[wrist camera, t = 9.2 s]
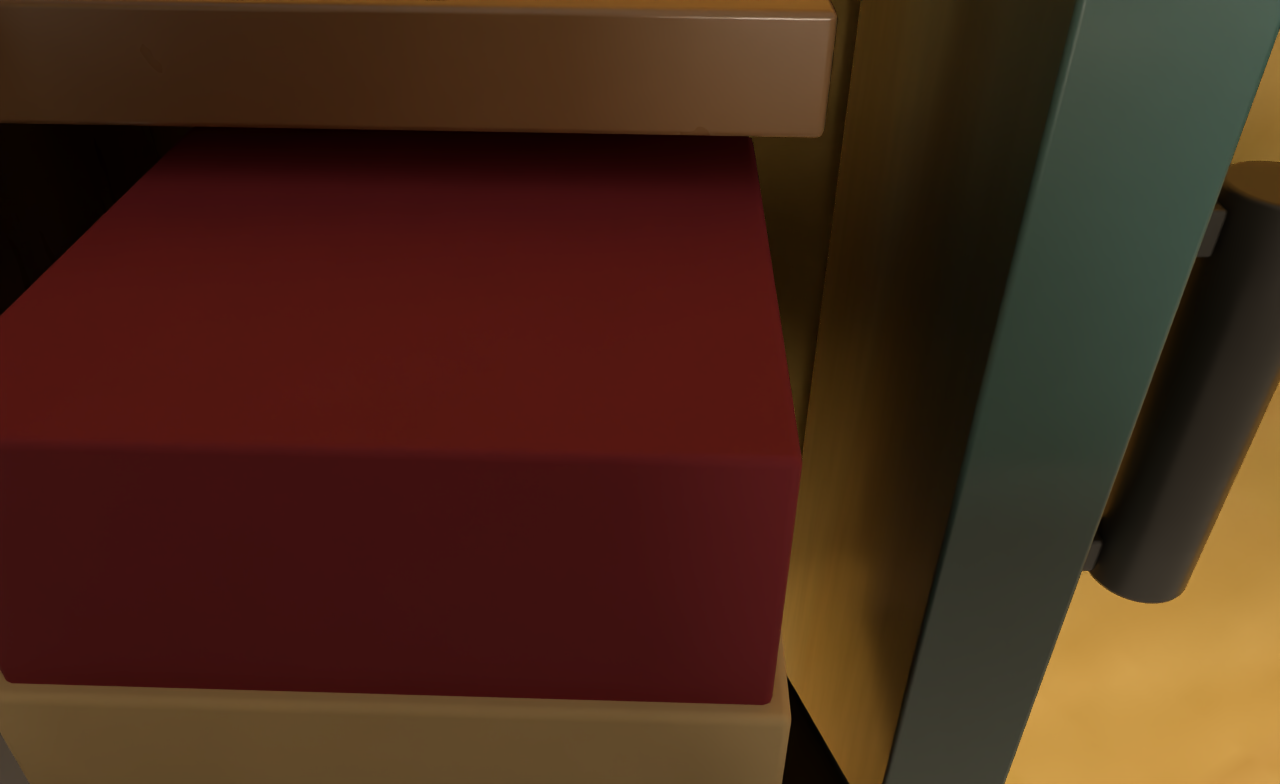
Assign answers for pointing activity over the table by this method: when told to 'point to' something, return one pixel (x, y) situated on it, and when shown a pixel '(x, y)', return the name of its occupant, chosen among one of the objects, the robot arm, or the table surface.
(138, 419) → the block
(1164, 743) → the table surface
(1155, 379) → the drawer
